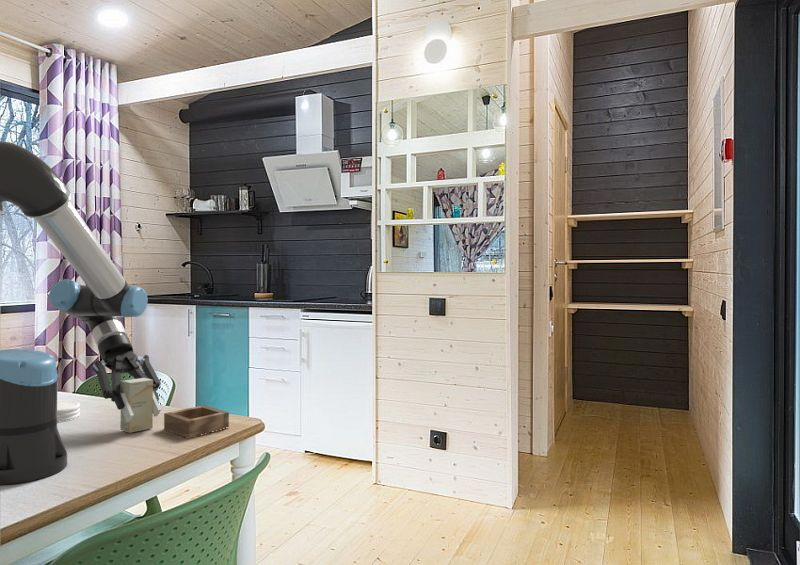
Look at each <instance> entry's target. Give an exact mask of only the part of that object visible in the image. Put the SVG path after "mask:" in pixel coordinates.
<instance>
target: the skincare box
mask: <svg viewBox="0 0 800 565" xmlns="http://www.w3.org/2000/svg"><path fill="white" fill-rule="evenodd" d="M121 393H125V395H126V397H127V400H128V402H129V405H130V407H131V409H132V412H133V414H134V416H133V417H132V419H131V421H130V422H126V419H125V417H124V414H123V412H122V409H120V421H119V422H120V427H119V428H120V430H121V431H122V432H125V433H129V434H130V433H135V432H139V431H140V432H141V431H145V430H150V429H153V418H154V415H153V380H152V379H148V378H139V379H135V378H133V379H126V380H121ZM121 393H120V394H121Z"/></svg>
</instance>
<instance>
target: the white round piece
mask: <svg viewBox="0 0 800 565" xmlns="http://www.w3.org/2000/svg"><path fill="white" fill-rule="evenodd" d="M80 407H81V403H79V402H77V401H71V400H70V401H57V423H60V422H59V421H64V422H67V421H66V420H69V421H71V420H70V419H73V420H75V419H74V418H76V417H78V416H79V417H80V416H81V408H80ZM79 417H78V418H79ZM76 419H77V418H76Z"/></svg>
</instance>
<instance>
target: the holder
mask: <svg viewBox="0 0 800 565" xmlns="http://www.w3.org/2000/svg"><path fill="white" fill-rule="evenodd" d="M163 415H164V416H163V420H164V421H163V424H164V425H163V430H165V431H168V432H171V433H172V434H173V433H174V434H175V433H176V434H175V435H178V434H179V436H181V435H182V436H181V437H184V436H185V437H184V438H186V437H188V438H187V439H191V438H190V437H192V438H195V437H194V436H196V437H199V436H198V435H200V436H202V435H201V434H204V435H206V434H205V433H208V434H210V433H209V432H212V431H216V430H220V429H223V428H226V427H229V428H230V426H229V425H230V421H229V420H230V418H229V417H230V413H229V412H228V411H225V410H222V409H217V408H214V407H211V406H207V405H204V404H202V405H199V406H194V407H193V406H192V407H189V408H185V409H179V410H174V411H170V412H165V413H164V414H163ZM220 431H221V430H220ZM216 432H217V431H216ZM212 433H213V432H212Z"/></svg>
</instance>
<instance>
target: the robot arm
mask: <svg viewBox="0 0 800 565" xmlns="http://www.w3.org/2000/svg"><path fill="white" fill-rule="evenodd" d="M71 196H72V195H71V192H70V190H69V188H68V187H67V186H66V183H64V181H63V180H62V179H61V178H60V176H59V175H58V174H57V173H56V172H55V170H53V168H51V167H50V166H49V165H48V164H47V162H45V161H44V160H43V159H41V158H40V156H37V155H36V154H34V153H33V152H31V151H30V150H29V149H27V148H25V147H23V146H20V145H18V144H16V143H12V142H9V141H5V140H3V141H2V140H0V216H1V215H2V214H3V209H4V208H3V206H4V204H3V202H6V203H7V202H8V203H11V204H13V205H14V206H16V207H17V208H18V209H19V210H20V211H21V212H22V214H23V215H24V216H25V217H26V218H30V219H31V218H32V219H34V220H35V221H36V223H37V224H38V225H39V227H41V229H42V230H43V231H44V233H45V234H46V236H48V238H49V239H50V240H51V242H52V243H53V245H54V246H55V247H56V248H57V249H58V251H59V252H60V253H61V254H62V256H63V258H65V260H66V261H67V263H68V264H69V265H70V266H71V267H72V268H73V270H74V271H75V272H76V273H77V275H78V276H79V277H80V279H81V280H82V282H84V284H85V285H84V284H83V285H82V284H80V283H79V282H77V281H75V280H72V279H68V278H67V279H61V280H58V281H57V282H55V283H54V285H53V286H52V287H51V288H50V291H49V293H48V300H49V304H50V305H51V306H52V307H54V308H56V309H58V311H60V312H62V313H65V314H67V315H70V316H71V317H73V318H75V319H77V320H79V321H81V322H83V323H85V324H87V326H88V328H89V330H90V332H91V333H90V334H91V335H92V338H93V340H94V342H95V345H96V348H97V351H98V352H99V356H100V358H101V359H102V360H101V361H100V360H98V359H97V360H95V362H94V363H93V366H92V370H93V371H94V372H95V374H96V376H97V379H98V383H99V386H100V389H101V393H102V396H103V398H104V399H105V400H107V399H110V400H111V402H114V403H115V406H116V408H117V410H119V411H121V409H122V412H123V414H124V417H125V419H126V422H130V421H131V419H132V417H133V416H134V414H133V412H132V409H131V407H130V405H129V402H128V400H127V397H126V395H125V393H121V381H122V380H121V374H123V373H127V374H128V375H129V376H130V377H131V376H132V378H133V379H139V378H148V379H152V380H153V418H155V417H158V416H159V414H160V412H161V411H162V408H161V405H160V403H159V401H160V397H159V394H158V393H157V391H158V390H159V388H160V386H161V385H162V384H161V380H160V378H159V377H158V375H157V373H156V372H155V369H154V368H153V366H152V364H151V362H150V357H149V355H147V354H145V355H143V356H138V355H137V353H135V351H134V349H133V345H132V342H131V341H130V338H129V337H128V333H127V332H126V329H125V327H124V325H123V323H122V320H121V318H134V317H135V318H137V317H140V316H142V315H143V314H144V313H145V311H146V309H147V307H148V299H149V298H148V295H147V292H146V290H145V289H144V288H142V287H139V286H135V285H131V286H130V285H129V283H128V281H127V280H125V277H124V276H123V274H122V273H121V272H120V271H119V269H118V268H117V266H116V265H115V263H114V262H113V261H112V259H111V258H110V256H109V255H108V253H107V252H106V251H105V249H104V248H103V246H102V244H100V242H99V241H98V239H97V237H96V236H95V235H94V233H93V232H92V230H91V229H90V227H89V225H87V223H86V222H85V220H84V219H83V218H82V216H81V215H80V212H78V210H77V209H76V207H75V206H74V205H73V203H72V202H71ZM140 367H141V368H140ZM106 368H107V369H109V370H110V372H111V373H110V376H111V382H110V380H109V376H108V374H107V370H106ZM58 379H59V373H58V370H57V362H56V358H55V356H53V355H52V354H50V353H47V352H44V351H41V350H35V349H34V350H33V349H20V348H10V349H7V348H6V349H0V485H11V484H13V485H14V484H20V483H26V482H33V481H36V480H40V479H43V478H46V477H49V476H52V475H55V474H57V473H58V472H61V471H62V470H63V469H65V468H66V467H67V465H68V452H67V450H66V447H65V446H66V445H65V444H64V442H63V440H62V437H61V434H60V431H59V429H58V422H57V402H58Z"/></svg>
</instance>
